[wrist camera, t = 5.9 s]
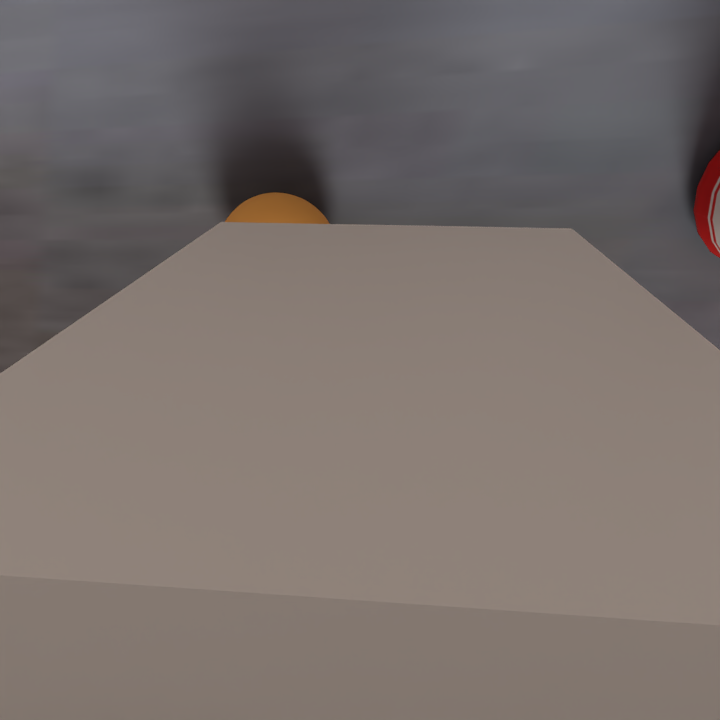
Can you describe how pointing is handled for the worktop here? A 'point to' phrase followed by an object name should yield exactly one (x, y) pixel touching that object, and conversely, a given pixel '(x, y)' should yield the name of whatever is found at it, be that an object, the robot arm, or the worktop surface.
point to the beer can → (709, 206)
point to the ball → (277, 210)
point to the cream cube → (364, 488)
